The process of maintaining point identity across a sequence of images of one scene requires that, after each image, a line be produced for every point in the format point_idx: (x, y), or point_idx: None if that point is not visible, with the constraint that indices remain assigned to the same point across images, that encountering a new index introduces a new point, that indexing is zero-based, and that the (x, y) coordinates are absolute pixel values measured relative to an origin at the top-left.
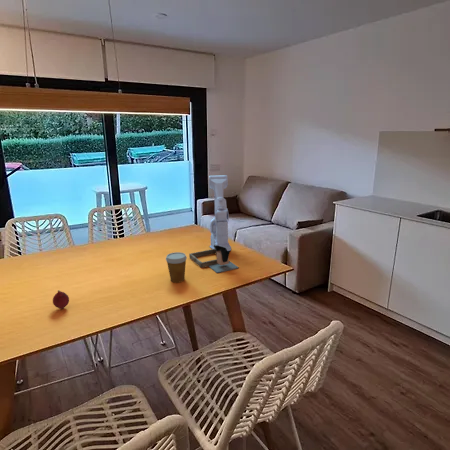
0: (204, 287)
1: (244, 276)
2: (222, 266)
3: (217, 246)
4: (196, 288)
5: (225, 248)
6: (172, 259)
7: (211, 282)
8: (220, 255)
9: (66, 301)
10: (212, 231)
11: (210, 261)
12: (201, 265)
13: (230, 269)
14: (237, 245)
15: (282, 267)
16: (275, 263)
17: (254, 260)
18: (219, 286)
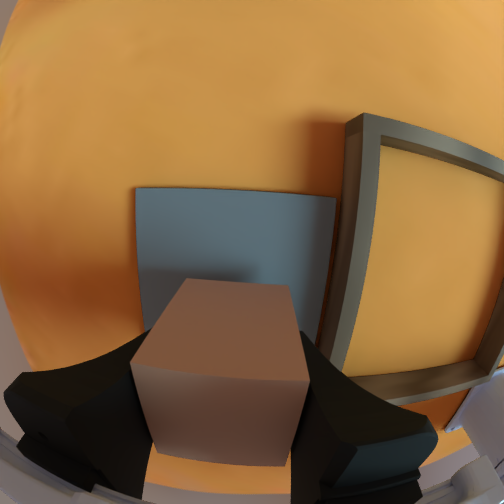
0: (36, 45)
1: (42, 321)
2: None
3: (328, 475)
4: (57, 8)
5: (24, 454)
6: None
7: (48, 93)
8: (142, 345)
9: None
10: None
11: (353, 236)
12: (354, 122)
13: (145, 321)
14: (431, 459)
15: None
16: (152, 480)
17: (227, 469)
18: (2, 127)
